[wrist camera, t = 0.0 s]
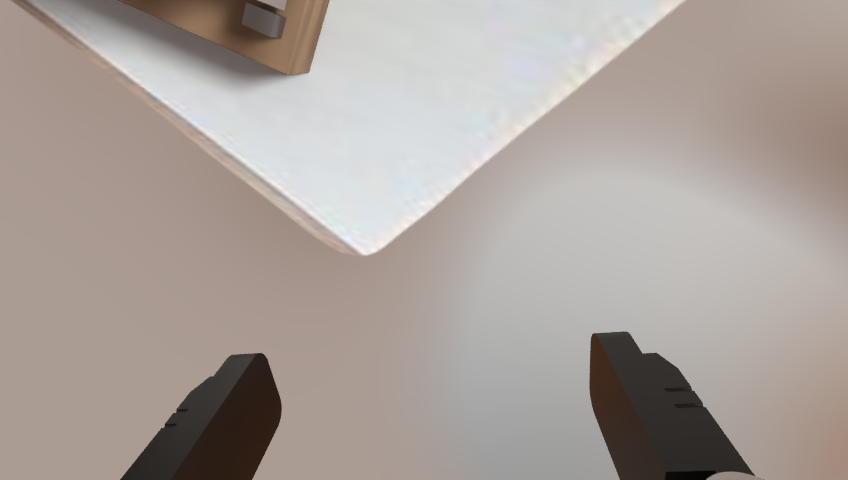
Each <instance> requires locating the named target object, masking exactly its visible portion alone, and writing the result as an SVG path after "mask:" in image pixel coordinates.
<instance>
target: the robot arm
mask: <svg viewBox="0 0 848 480" xmlns="http://www.w3.org/2000/svg"><path fill="white" fill-rule="evenodd" d="M590 397H591V402H592V407H593V410H594V414H595V416H596V419H597V422H598V424H599V427H600V429H601V432H602V434H603V437H604V440H605V442H606V444H607V447H608V450H609V452H610V455H611V458H612V460H613V463H614V465H615V468H616V471H617V473H618V476H619V478H620V480H764V479H761V478H759V477H756V476H755V475H754V474H753V473H752V471H751V470H750V469H749V467H748V466H747V464H746V463H745V462H744V460H743V459H742V457H741V456H740V455H739V453H738V452H737V451H736V449H735V448H734V446H733V445H732V444H731V442H730V441H729V439H728V438H727V436H726V435H725V434H724V432H723V431H722V429H721V428H720V427H719V425H718V424H717V422H716V421H715V420H714V418H713V417H712V415H711V414H710V413H709V411H708V410H707V409H706V408H705V407H703V403H702V401H701V400H700V399H699V397H698V396H697V394H696V393H695V392H694V391H692V389H691V386H690V385H689V383H688V382H687V380H686V379H685V378H684V376H683V375H682V373H681V372H680V371H679V369H678V368H677V367H675V366H674V365H673V364H671V363H670V362H668V361H667V360H665V359H664V358H663V357H661V356H660V355H659V354H657V353H647V354H642V352H641V351H640V349H639V347H638V346H637V344H636V343H635V341H634V340H633V338H632V336H631V335H630V334H629V333H628V332H611V333H594V334H592V337H591V351H590ZM281 410H282V407H281V400H280V396H279V393H278V390H277V387H276V384H275V381H274V378H273V375H272V372H271V369H270V366H269V363H268V360H267V358H266V357H265V355H264V354H262V353H255V354H238V355H231V356H229V357H228V358H227V359H226V361H225V362H224V363H223V365H222V366H221V367H220V369H219V370H218V371H217V372H216V374H215V375H214V376H212V377H209V378H208V379H206V380H205V381H204V382H203V383H201V384H200V385H199V386H198V387H196V388H195V389H194V390H192V391H191V392H190V393H189V394H188V396H187V397H186V398H185V400H184V401H183V402H182V403H181V404H180V406H179V407H178V408H177V412H176V413H173V414H172V416H171V417H170V418H169V420H168V421H167V422H166V423H165V427H164V428H161V430H160V431H159V432H158V433H157V435H156V436H155V437H154V438H153V440H152V441H151V442H150V443H149V444H148V446H147V447H146V448H145V449H144V451H143V452H142V453H141V454H140V456H139V457H138V458H137V460H136V461H135V462H134V463H133V464H132V466H131V467H130V468H129V469H128V471H127V472H126V473H125V474H124V476H123V477H122V478H121V479H120V480H252V478H253V476H254V475H255V472H256V470H257V468H258V466H259V464H260V462H261V460H262V458H263V456H264V454H265V452H266V450H267V447H268V446H269V444H270V442H271V440H272V438H273V436H274V433H275V431H276V429H277V427H278V425H279V422H280V418H281Z"/></svg>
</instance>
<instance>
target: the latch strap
mask: <svg viewBox="0 0 848 480" xmlns="http://www.w3.org/2000/svg"><path fill="white" fill-rule="evenodd" d="M258 1H261V2H263V3H266V4H268V5H271V6H273V7H276V8H279V9H281V10H285V6H286V2H287V0H258Z"/></svg>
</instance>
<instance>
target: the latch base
mask: <svg viewBox="0 0 848 480" xmlns="http://www.w3.org/2000/svg"><path fill="white" fill-rule="evenodd" d="M119 1H121V2H123V3H126V4H128V5H130V6H132V7H135V8H137V9H139V10H142V11H144V12H146V13H148V14H151V15H153V16H155V17H157V18H160V19H162V20H164V21H166V22H169V23H171V24H173V25H175V26H178V27H180V28H182V29H185V30H187V31H189V32H191V33H194V34H196V35H198V36H200V37H203V38H205V39H207V40H209V41H212V42H214V43H216V44H219V45H221V46H223V47H225V48H228V49H230V50H232V51H234V52H237V53H239V54H241V55H243V56H246V57H248V58H250V59H253V60H255V61H257V62H259V63H262V64H264V65H266V66H268V67H271V68H273V69H275V70H277V71H280V72H282V73H284V74H287V75H288V74H300V73H309V70H310V67H311V63H312V60H313V56H314V53H315V49H316V46H317V42H318V39H319V35H320V32H321V28H322V25H323V21H324V17H325V14H326V10H327V7H328V3H329V0H287V2H286V6H285V10H281V9H279V8H276V7H273V6H271V5H268V4H266V3H263V2H261V1H258V0H119Z"/></svg>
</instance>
